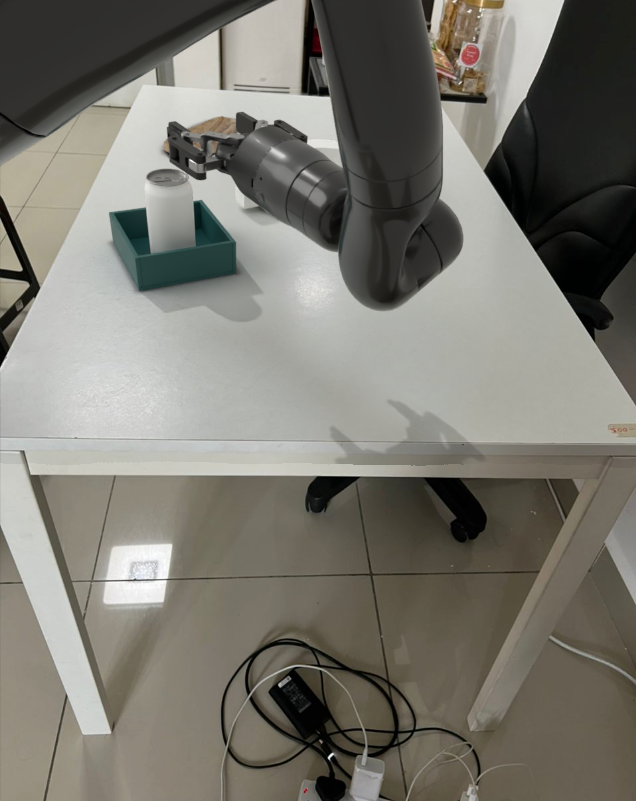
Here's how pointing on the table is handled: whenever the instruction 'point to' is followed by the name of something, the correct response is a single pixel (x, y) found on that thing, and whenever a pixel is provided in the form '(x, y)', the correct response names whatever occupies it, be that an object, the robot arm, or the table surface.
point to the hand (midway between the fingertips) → (205, 125)
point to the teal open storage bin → (178, 265)
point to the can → (169, 210)
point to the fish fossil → (212, 125)
